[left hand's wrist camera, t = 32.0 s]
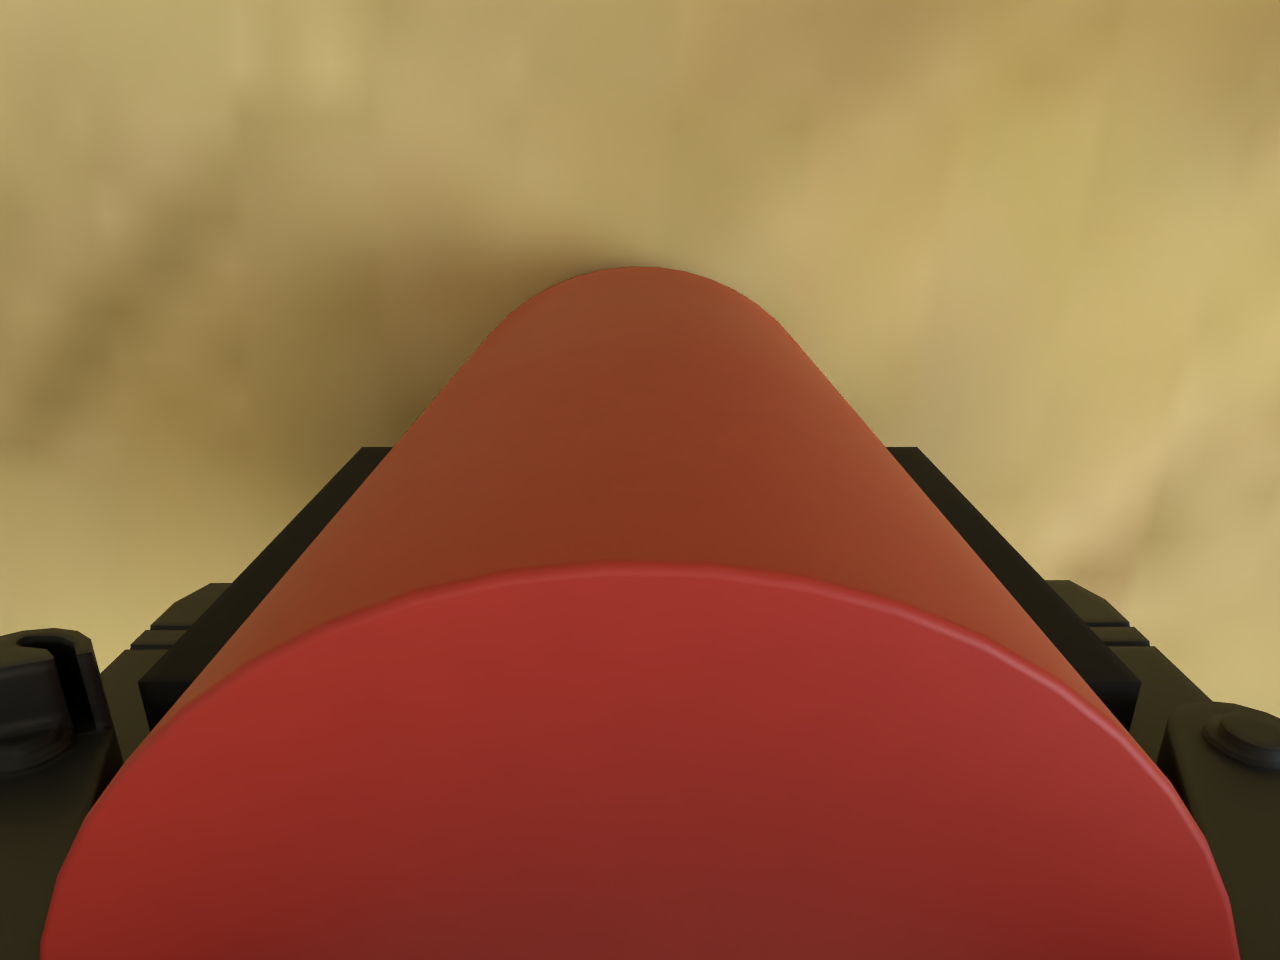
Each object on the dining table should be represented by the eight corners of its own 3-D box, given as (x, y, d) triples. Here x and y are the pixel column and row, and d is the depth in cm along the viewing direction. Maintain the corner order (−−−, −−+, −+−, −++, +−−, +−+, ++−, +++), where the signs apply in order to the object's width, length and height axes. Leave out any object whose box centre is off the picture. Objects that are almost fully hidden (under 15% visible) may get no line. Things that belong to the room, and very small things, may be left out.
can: (470, 634, 18) (191, 1421, 7) (424, 274, 15) (-166, 594, 4) (824, 622, 18) (1134, 1400, 7) (839, 258, 15) (1403, 535, 4)
